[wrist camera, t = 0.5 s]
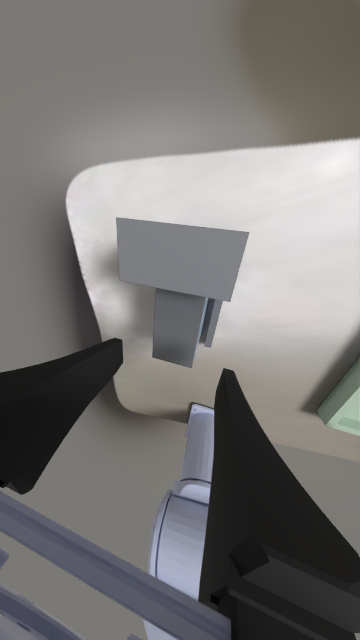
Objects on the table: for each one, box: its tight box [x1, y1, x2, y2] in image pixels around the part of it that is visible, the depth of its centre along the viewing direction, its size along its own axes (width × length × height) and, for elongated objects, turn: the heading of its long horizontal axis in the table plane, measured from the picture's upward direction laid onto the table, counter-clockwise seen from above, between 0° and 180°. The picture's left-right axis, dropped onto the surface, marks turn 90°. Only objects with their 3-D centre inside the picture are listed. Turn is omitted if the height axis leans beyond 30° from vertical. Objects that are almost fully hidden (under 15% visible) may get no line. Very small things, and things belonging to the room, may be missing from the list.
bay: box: [116, 217, 249, 348], centre depth 15 cm, size 12×7×9 cm, turn 173°
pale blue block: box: [152, 288, 208, 368], centre depth 16 cm, size 11×4×6 cm, turn 173°
